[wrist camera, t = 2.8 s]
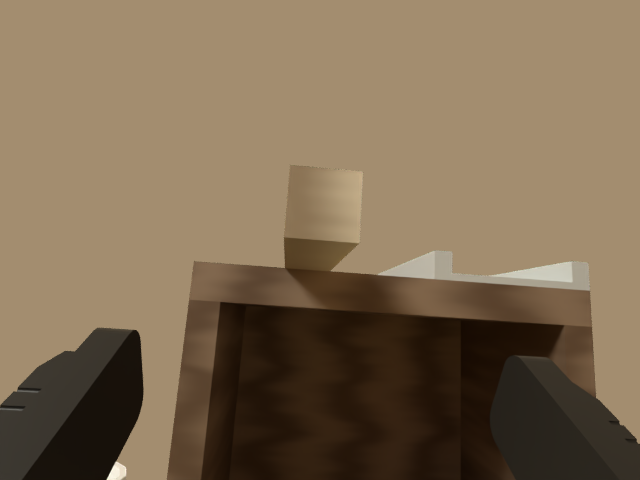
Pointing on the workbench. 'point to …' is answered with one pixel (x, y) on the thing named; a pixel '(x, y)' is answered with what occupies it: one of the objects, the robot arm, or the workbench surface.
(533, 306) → the shelf
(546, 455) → the robot arm
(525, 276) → the trough
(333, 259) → the beige wooden rod
